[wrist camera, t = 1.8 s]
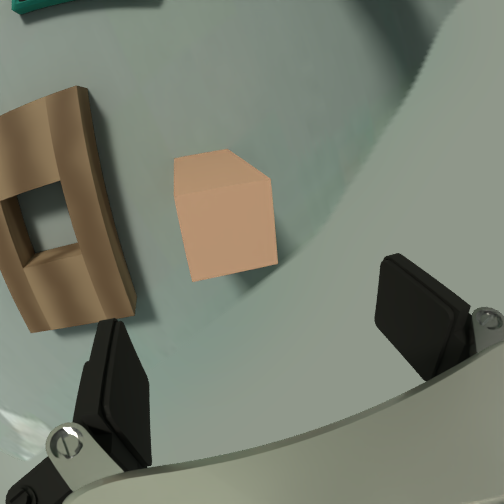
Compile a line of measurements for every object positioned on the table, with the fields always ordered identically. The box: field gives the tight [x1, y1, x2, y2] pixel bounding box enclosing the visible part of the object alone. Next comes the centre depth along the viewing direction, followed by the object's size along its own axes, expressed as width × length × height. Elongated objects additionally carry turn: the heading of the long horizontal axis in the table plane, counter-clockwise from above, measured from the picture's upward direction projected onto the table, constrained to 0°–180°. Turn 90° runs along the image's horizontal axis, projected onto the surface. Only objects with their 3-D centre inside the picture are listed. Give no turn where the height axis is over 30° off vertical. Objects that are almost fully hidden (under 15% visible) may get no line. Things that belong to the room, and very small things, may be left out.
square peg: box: [174, 149, 278, 282], centre depth 23 cm, size 5×5×14 cm
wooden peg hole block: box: [0, 86, 137, 333], centre depth 25 cm, size 13×22×4 cm, turn 7°
